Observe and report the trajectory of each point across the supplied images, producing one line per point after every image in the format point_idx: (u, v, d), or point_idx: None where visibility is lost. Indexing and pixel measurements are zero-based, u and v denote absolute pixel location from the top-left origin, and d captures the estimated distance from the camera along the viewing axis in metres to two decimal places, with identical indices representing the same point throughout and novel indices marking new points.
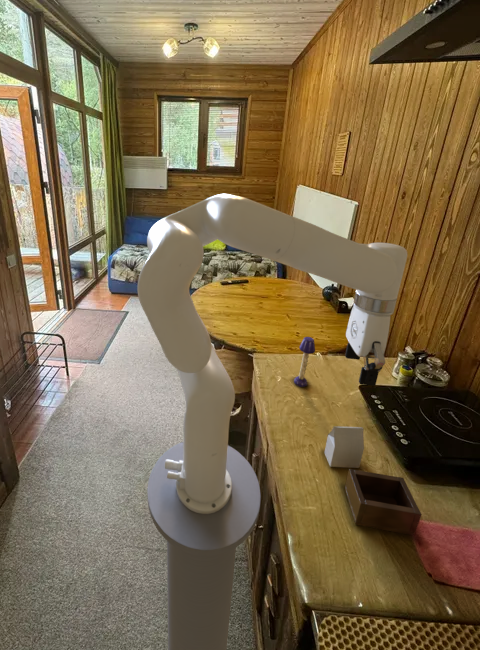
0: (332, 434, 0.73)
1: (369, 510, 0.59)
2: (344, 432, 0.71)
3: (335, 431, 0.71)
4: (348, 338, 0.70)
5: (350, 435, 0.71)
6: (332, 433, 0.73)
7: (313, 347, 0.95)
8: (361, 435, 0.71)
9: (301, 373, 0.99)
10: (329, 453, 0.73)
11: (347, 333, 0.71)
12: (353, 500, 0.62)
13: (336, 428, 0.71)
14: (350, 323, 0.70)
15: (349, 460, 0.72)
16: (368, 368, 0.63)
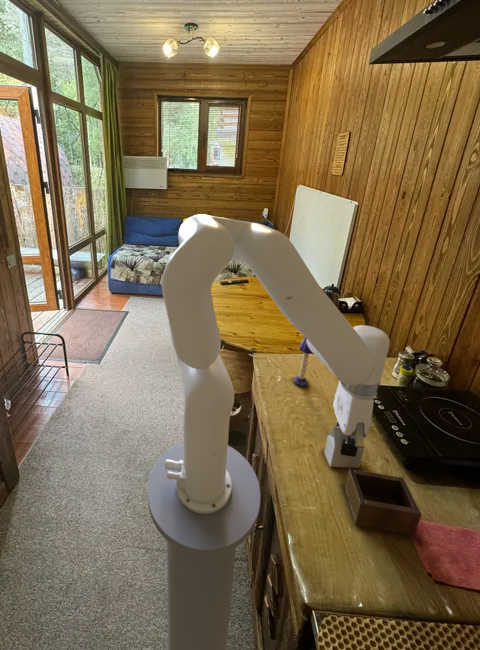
0: (332, 434, 0.73)
1: (369, 510, 0.59)
2: None
3: (335, 431, 0.71)
4: (335, 410, 0.73)
5: (350, 435, 0.71)
6: (332, 433, 0.73)
7: None
8: None
9: (301, 373, 0.99)
10: (329, 453, 0.73)
11: (334, 404, 0.74)
12: (353, 500, 0.62)
13: (336, 428, 0.71)
14: (337, 396, 0.72)
15: (349, 460, 0.72)
16: (348, 442, 0.68)
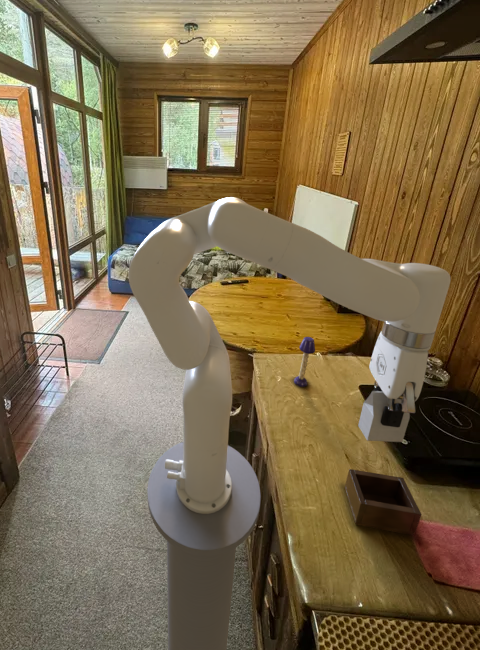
0: (369, 401, 0.60)
1: (369, 510, 0.59)
2: (386, 397, 0.58)
3: (374, 397, 0.58)
4: (373, 372, 0.60)
5: None
6: (369, 400, 0.60)
7: (313, 347, 0.95)
8: None
9: (301, 373, 0.99)
10: (365, 425, 0.61)
11: (371, 366, 0.61)
12: (353, 500, 0.62)
13: (375, 393, 0.58)
14: (375, 355, 0.60)
15: (390, 433, 0.59)
16: (392, 409, 0.55)
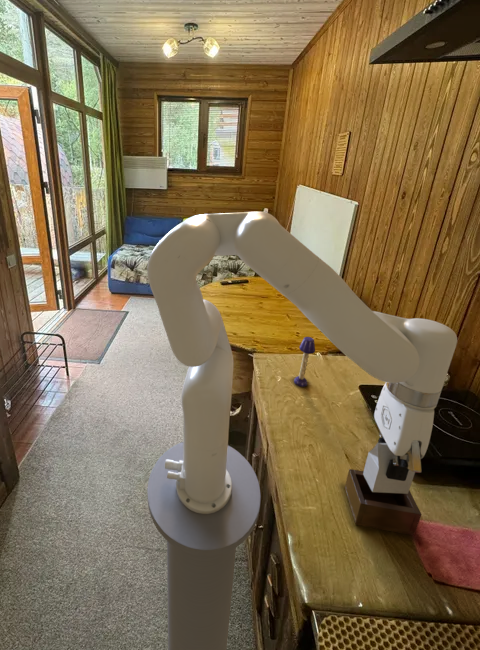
0: (374, 452, 0.59)
1: (369, 510, 0.59)
2: None
3: (379, 449, 0.58)
4: (378, 423, 0.59)
5: None
6: (374, 451, 0.59)
7: (313, 347, 0.95)
8: None
9: (301, 373, 0.99)
10: (370, 475, 0.60)
11: (376, 416, 0.60)
12: (353, 500, 0.62)
13: (381, 445, 0.58)
14: (380, 406, 0.59)
15: (396, 485, 0.58)
16: (398, 464, 0.55)
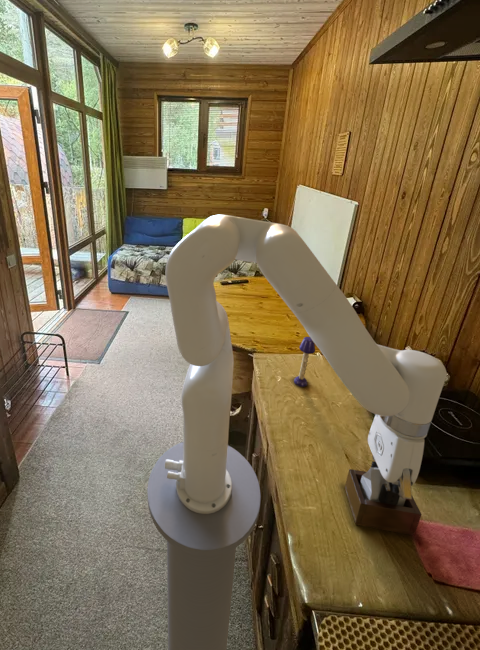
0: (368, 476, 0.61)
1: (369, 510, 0.59)
2: None
3: (372, 473, 0.60)
4: (371, 448, 0.61)
5: None
6: (367, 475, 0.61)
7: (313, 347, 0.95)
8: None
9: (301, 373, 0.99)
10: None
11: (369, 440, 0.62)
12: (353, 500, 0.62)
13: (373, 470, 0.60)
14: (373, 431, 0.61)
15: None
16: (390, 489, 0.57)
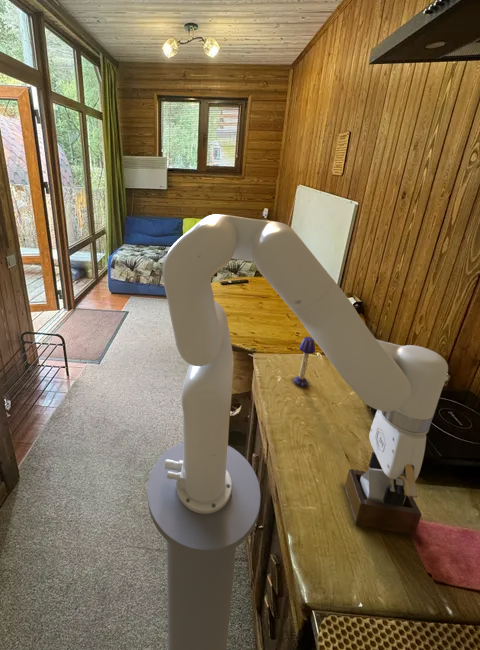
0: (366, 477, 0.62)
1: (369, 510, 0.59)
2: (382, 476, 0.60)
3: (370, 474, 0.60)
4: (372, 444, 0.61)
5: (389, 481, 0.60)
6: (366, 475, 0.62)
7: (313, 347, 0.95)
8: (402, 481, 0.60)
9: (301, 373, 0.99)
10: None
11: (371, 437, 0.62)
12: (353, 500, 0.62)
13: (372, 471, 0.60)
14: (375, 428, 0.61)
15: None
16: (395, 490, 0.55)
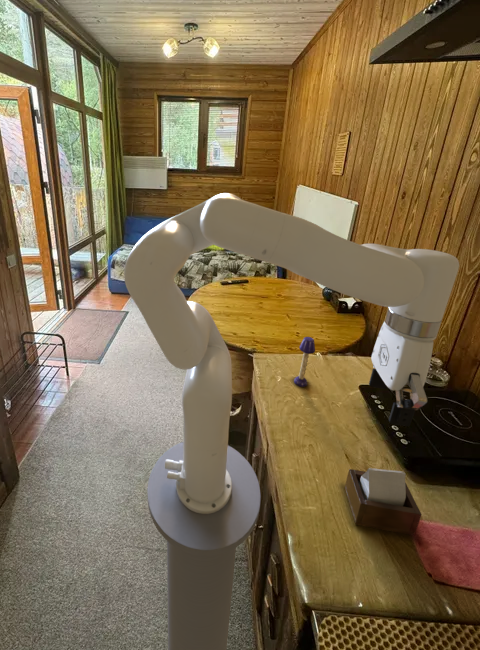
0: (366, 477, 0.62)
1: (369, 510, 0.59)
2: (382, 476, 0.60)
3: (370, 474, 0.60)
4: (375, 364, 0.58)
5: (389, 481, 0.60)
6: (366, 475, 0.62)
7: (313, 347, 0.95)
8: (402, 481, 0.60)
9: (301, 373, 0.99)
10: None
11: (373, 358, 0.59)
12: (353, 500, 0.62)
13: (372, 471, 0.60)
14: (378, 346, 0.57)
15: None
16: (402, 405, 0.50)
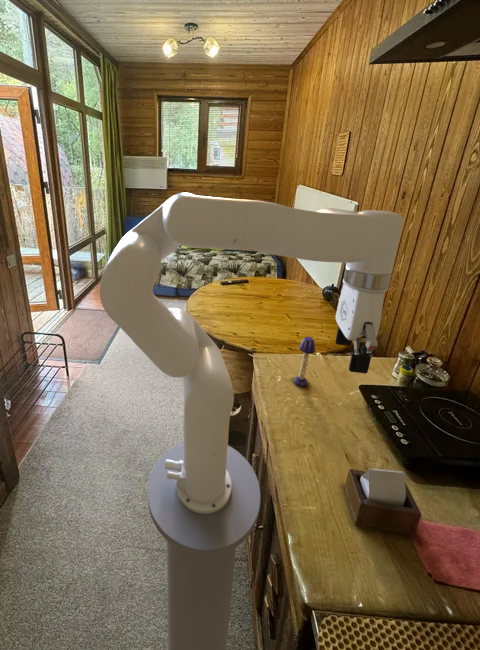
0: (366, 477, 0.62)
1: (369, 510, 0.59)
2: (382, 476, 0.60)
3: (370, 474, 0.60)
4: (338, 321, 0.63)
5: (389, 481, 0.60)
6: (366, 475, 0.62)
7: (313, 347, 0.95)
8: (402, 481, 0.60)
9: (301, 373, 0.99)
10: None
11: (337, 316, 0.64)
12: (353, 500, 0.62)
13: (372, 471, 0.60)
14: (340, 304, 0.62)
15: None
16: (359, 353, 0.55)
